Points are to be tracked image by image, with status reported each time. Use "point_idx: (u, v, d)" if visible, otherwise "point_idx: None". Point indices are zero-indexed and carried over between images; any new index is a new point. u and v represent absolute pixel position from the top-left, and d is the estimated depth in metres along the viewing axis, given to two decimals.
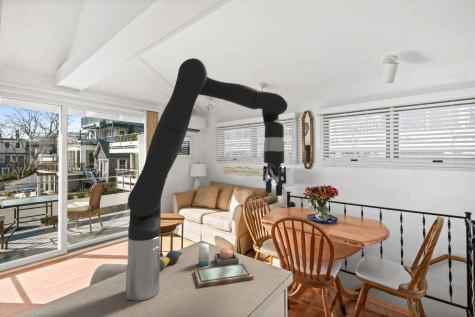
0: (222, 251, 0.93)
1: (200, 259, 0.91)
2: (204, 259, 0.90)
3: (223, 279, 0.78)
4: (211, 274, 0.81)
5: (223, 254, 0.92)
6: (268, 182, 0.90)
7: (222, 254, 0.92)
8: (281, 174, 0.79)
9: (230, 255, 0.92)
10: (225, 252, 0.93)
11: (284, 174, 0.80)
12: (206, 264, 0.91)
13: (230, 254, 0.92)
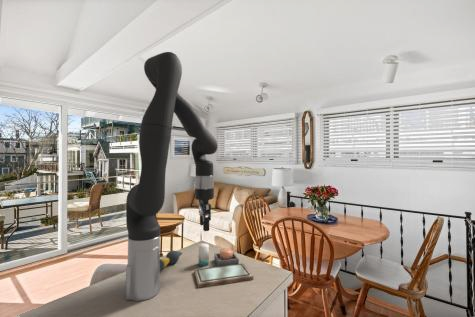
0: (222, 251, 0.93)
1: (200, 259, 0.91)
2: (204, 259, 0.90)
3: (223, 279, 0.78)
4: (211, 274, 0.81)
5: (223, 254, 0.92)
6: None
7: (222, 254, 0.92)
8: (206, 212, 0.86)
9: (230, 255, 0.92)
10: (225, 252, 0.93)
11: (209, 212, 0.86)
12: (206, 264, 0.91)
13: (230, 254, 0.92)
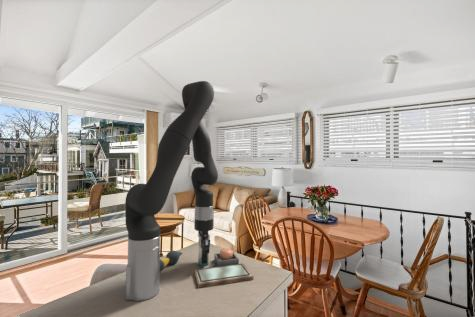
0: (222, 251, 0.93)
1: (200, 259, 0.91)
2: None
3: (223, 279, 0.78)
4: (211, 274, 0.81)
5: (223, 254, 0.92)
6: None
7: (222, 254, 0.92)
8: (204, 247, 0.87)
9: (230, 255, 0.92)
10: (225, 252, 0.93)
11: (208, 247, 0.87)
12: (206, 264, 0.91)
13: (230, 254, 0.92)
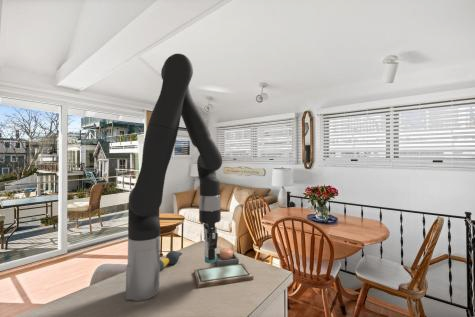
0: (222, 251, 0.93)
1: (207, 255, 0.80)
2: None
3: (223, 279, 0.78)
4: (211, 274, 0.81)
5: (223, 254, 0.92)
6: None
7: (222, 254, 0.92)
8: (211, 241, 0.76)
9: (230, 255, 0.92)
10: (225, 252, 0.93)
11: (215, 241, 0.76)
12: (213, 260, 0.80)
13: (230, 254, 0.92)
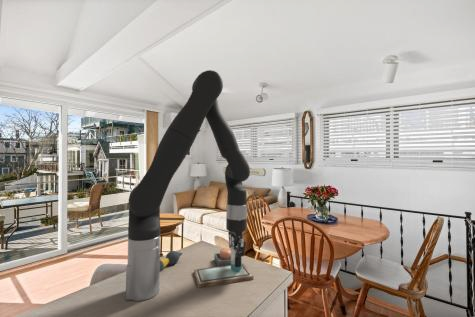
0: (222, 251, 0.93)
1: (233, 262, 0.83)
2: None
3: (223, 279, 0.78)
4: (211, 274, 0.81)
5: (223, 254, 0.92)
6: None
7: (222, 254, 0.92)
8: (240, 249, 0.79)
9: (230, 255, 0.92)
10: (225, 252, 0.93)
11: (243, 249, 0.79)
12: (240, 268, 0.83)
13: (230, 254, 0.92)
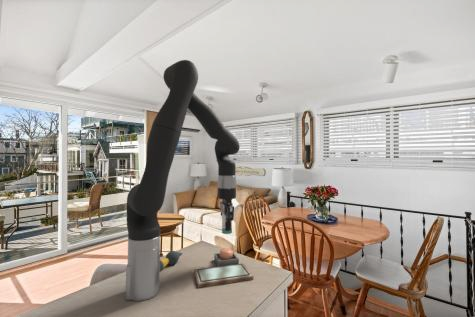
0: (222, 251, 0.93)
1: (224, 227, 0.93)
2: None
3: (223, 279, 0.78)
4: (211, 274, 0.81)
5: (223, 254, 0.92)
6: None
7: (222, 254, 0.92)
8: (229, 214, 0.89)
9: (230, 255, 0.92)
10: (225, 252, 0.93)
11: (232, 214, 0.89)
12: (230, 232, 0.93)
13: (230, 254, 0.92)
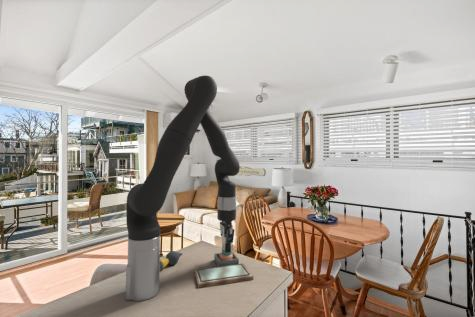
0: None
1: (224, 248, 0.93)
2: None
3: (223, 279, 0.78)
4: (211, 274, 0.81)
5: (223, 257, 0.92)
6: None
7: (222, 257, 0.92)
8: (229, 236, 0.88)
9: (230, 258, 0.92)
10: None
11: (232, 236, 0.89)
12: (230, 253, 0.93)
13: (230, 257, 0.92)
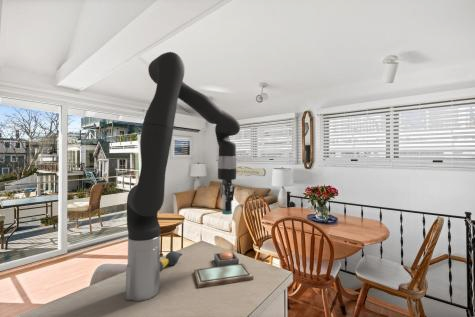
0: (222, 254, 0.93)
1: (224, 207, 0.93)
2: None
3: (223, 279, 0.78)
4: (211, 274, 0.81)
5: (223, 257, 0.92)
6: None
7: (222, 257, 0.92)
8: (229, 193, 0.89)
9: (230, 258, 0.92)
10: (225, 255, 0.93)
11: (232, 193, 0.89)
12: (230, 212, 0.93)
13: (230, 257, 0.92)
